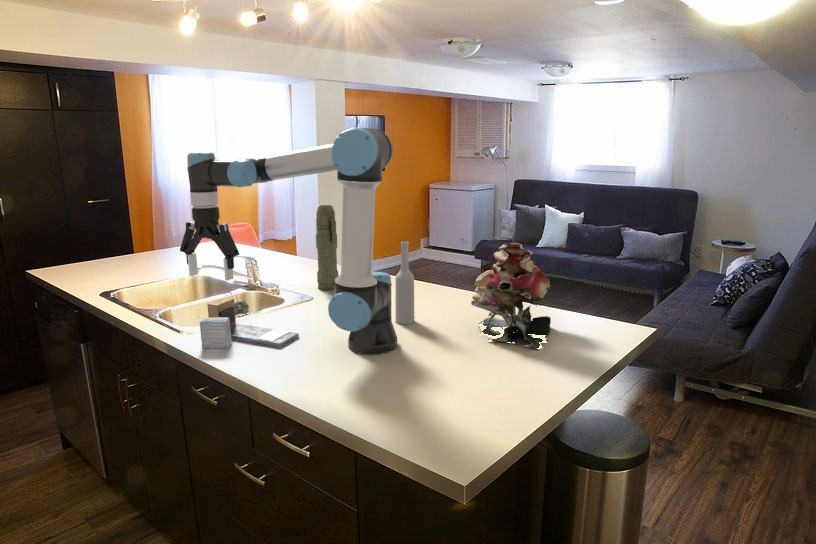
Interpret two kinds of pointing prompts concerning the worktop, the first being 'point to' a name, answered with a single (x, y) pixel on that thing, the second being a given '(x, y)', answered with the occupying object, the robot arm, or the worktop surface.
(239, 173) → the robot arm
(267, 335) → the rail
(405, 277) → the bottle
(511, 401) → the worktop surface
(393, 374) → the worktop surface
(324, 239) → the thermos
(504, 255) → the rose bouquet
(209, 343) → the medicine box
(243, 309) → the egg carton
